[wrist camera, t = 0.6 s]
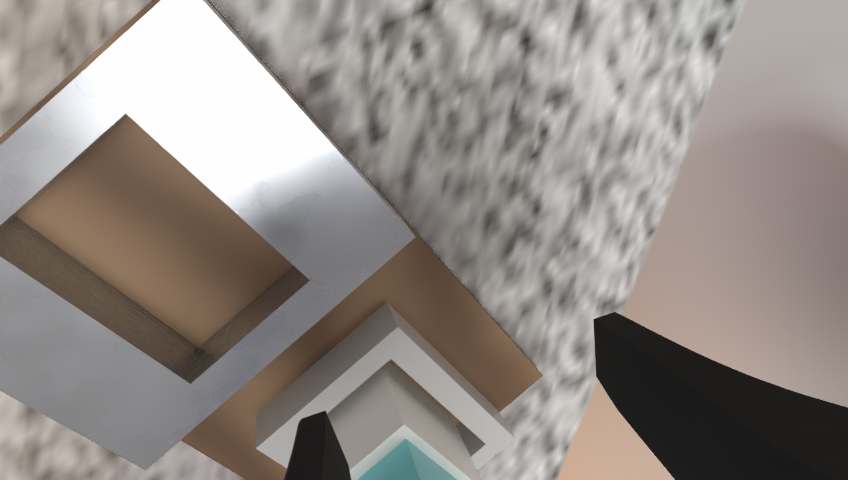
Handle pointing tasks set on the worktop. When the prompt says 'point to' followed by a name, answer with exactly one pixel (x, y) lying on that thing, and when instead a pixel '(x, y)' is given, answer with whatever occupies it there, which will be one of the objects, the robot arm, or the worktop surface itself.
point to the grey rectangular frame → (357, 363)
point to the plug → (399, 432)
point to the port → (229, 180)
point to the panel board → (244, 278)
